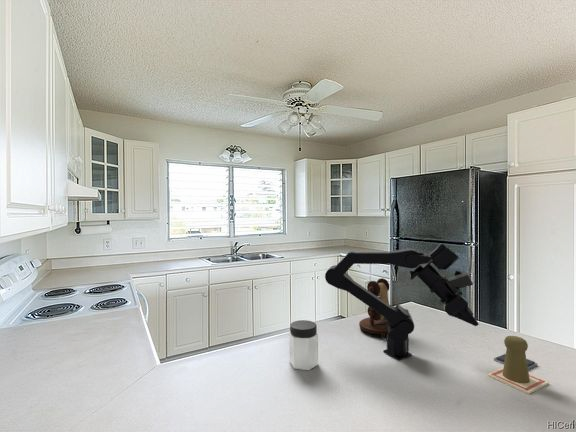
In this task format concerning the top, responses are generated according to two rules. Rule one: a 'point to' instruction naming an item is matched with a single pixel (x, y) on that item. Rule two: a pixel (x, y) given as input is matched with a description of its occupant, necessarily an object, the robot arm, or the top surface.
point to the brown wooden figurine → (376, 320)
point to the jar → (303, 345)
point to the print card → (525, 387)
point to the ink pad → (502, 359)
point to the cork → (516, 360)
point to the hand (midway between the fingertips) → (474, 320)
